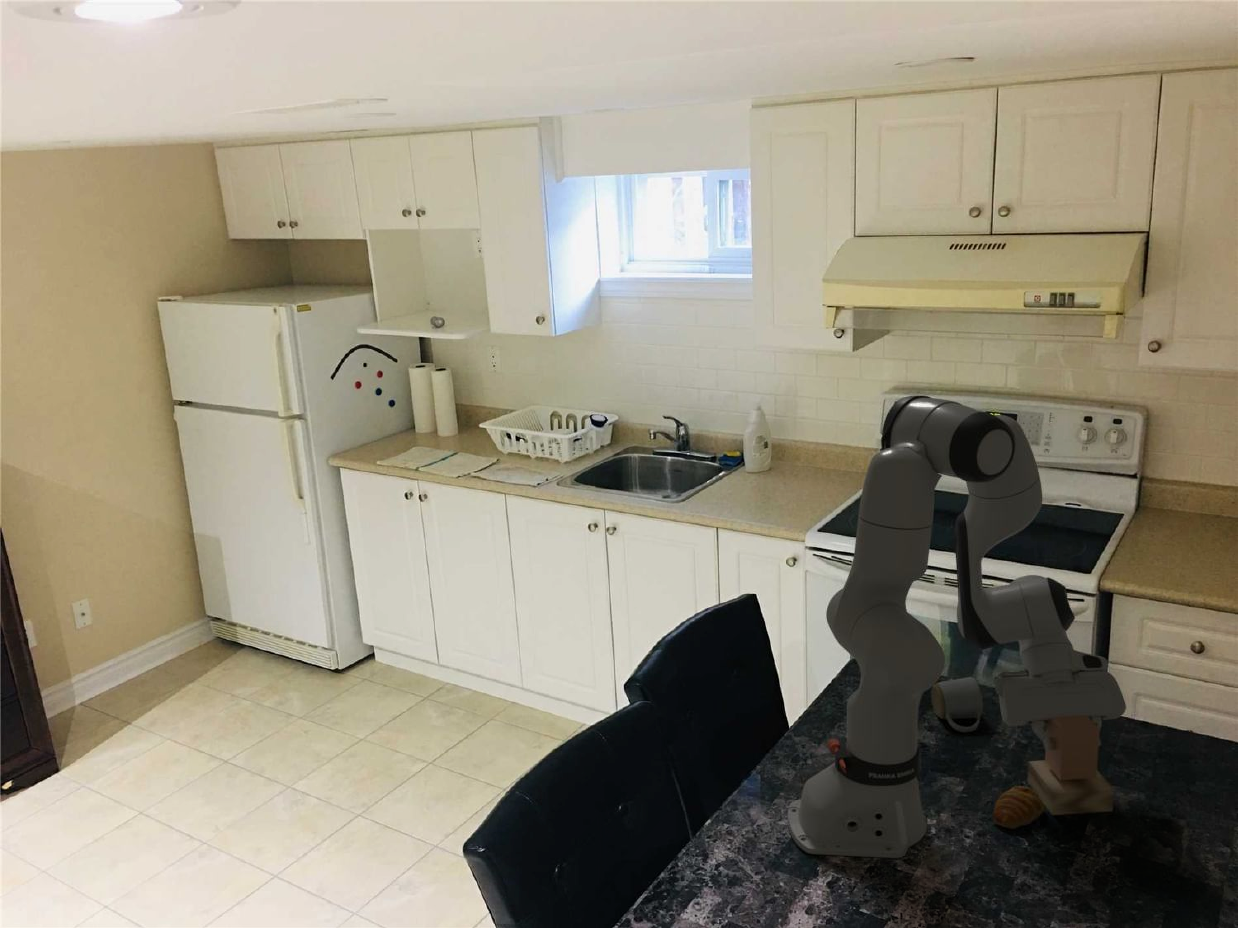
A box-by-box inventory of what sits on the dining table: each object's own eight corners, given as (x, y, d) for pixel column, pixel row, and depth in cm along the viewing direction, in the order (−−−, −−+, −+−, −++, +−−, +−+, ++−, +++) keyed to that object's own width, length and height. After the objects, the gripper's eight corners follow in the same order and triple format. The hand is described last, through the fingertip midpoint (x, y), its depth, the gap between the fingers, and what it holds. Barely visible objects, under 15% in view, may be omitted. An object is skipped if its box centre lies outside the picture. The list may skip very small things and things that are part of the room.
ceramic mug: (928, 708, 207) (929, 673, 205) (968, 704, 208) (970, 670, 206) (948, 736, 197) (949, 700, 195) (990, 732, 198) (991, 696, 196)
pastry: (1021, 838, 166) (1021, 817, 165) (981, 822, 171) (981, 801, 170) (1047, 812, 172) (1047, 791, 171) (1008, 797, 177) (1008, 777, 176)
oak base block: (1052, 815, 171) (1053, 793, 170) (1027, 781, 181) (1028, 761, 180) (1112, 810, 171) (1114, 789, 170) (1084, 777, 181) (1085, 757, 180)
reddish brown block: (1060, 779, 172) (1062, 731, 169) (1045, 760, 178) (1047, 713, 175) (1096, 777, 172) (1099, 728, 169) (1079, 758, 178) (1082, 710, 175)
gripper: (996, 666, 177) (1017, 746, 170) (1115, 657, 177) (1141, 738, 170) (986, 677, 182) (1005, 756, 176) (1101, 669, 183) (1126, 748, 176)
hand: (1073, 747), depth 173 cm, fingers closed on reddish brown block, 6 cm apart
